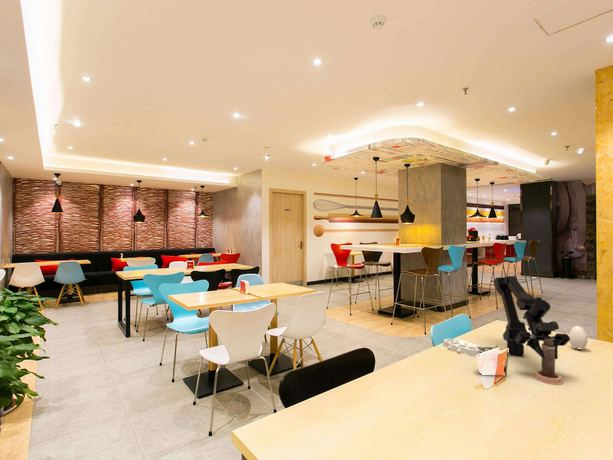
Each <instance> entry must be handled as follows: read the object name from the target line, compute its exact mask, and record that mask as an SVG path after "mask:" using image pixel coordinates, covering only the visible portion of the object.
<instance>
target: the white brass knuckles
mask: <svg viewBox="0 0 613 460" xmlns="http://www.w3.org/2000/svg"><path fill="white" fill-rule="evenodd" d="M445 346H446V347H445ZM443 347H445V348H447V347H448V349H449V350H450V349H451V350H450V351H452V350H454V351H453V352H455V351H456V353H457V352H459V353H458V354H461V353H465V354H464V355H466V354H468V355H473V356H472V357H477V356H476V355H477V354H478V349H480V348H481V347H482V345H479V344H475V343H472V342H471V341H467V340H463V339H461V338H458V339H453V338H444V339H443ZM468 355H467V356H468Z"/></svg>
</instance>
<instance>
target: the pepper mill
mask: <svg viewBox="0 0 613 460" xmlns="http://www.w3.org/2000/svg"><path fill="white" fill-rule="evenodd" d="M553 344H554V342H553V340H552V339H550V338H545V339H544V340H543V342H542V343H541V349H542V351H543V353H544V357H545V358H544V359H543V358H542V357H541V367H540V368H541V369H540V370H541V374H542V375H544V376H547V377H555V373H556V359H555V346H554V345H553Z"/></svg>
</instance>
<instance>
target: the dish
mask: <svg viewBox="0 0 613 460" xmlns="http://www.w3.org/2000/svg"><path fill="white" fill-rule="evenodd" d="M533 378H534V379H536V380H537V381H539V382H541V383H545V384H549V385H554V386H555V385H558V386H559V384H560V385H563V384H564V380H563V377H562V376H561V375H560V374H559V373H556V372H555V377H547V376H544V375H542V374H541V369H540V370H539V369H537V370H535V371H534V374H533Z"/></svg>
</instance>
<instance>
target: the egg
mask: <svg viewBox="0 0 613 460" xmlns="http://www.w3.org/2000/svg"><path fill="white" fill-rule="evenodd" d="M568 336H569V338H570V341H569V344H570V346H572V347H573V348H574V347H575V348H581V350H584V349H585V348H586V346H587V345H588V342H589V339H588V335H587V332H586V331H585V329H584V328H583V327H581V326H580V325H579V326H578V325H575V326H573V327H572V328H571V330H570V332H569V333H568ZM575 348H574V349H575Z"/></svg>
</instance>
